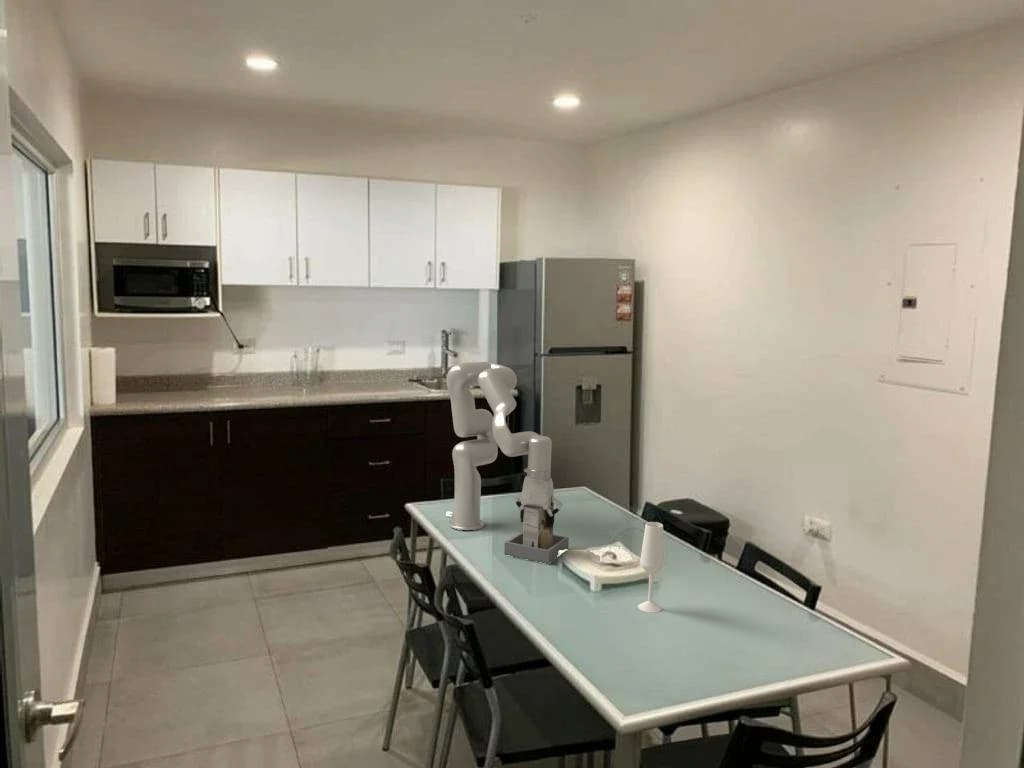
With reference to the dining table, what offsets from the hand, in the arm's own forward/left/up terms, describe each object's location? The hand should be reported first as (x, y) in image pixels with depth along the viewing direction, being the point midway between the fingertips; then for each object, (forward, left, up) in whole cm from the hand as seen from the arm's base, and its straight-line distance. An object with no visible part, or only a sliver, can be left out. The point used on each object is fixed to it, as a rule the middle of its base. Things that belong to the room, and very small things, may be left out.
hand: (536, 523), depth 256 cm
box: (0, 0, -10) cm, 10 cm away
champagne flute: (+46, -23, -10) cm, 53 cm away
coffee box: (+1, 0, -9) cm, 9 cm away
